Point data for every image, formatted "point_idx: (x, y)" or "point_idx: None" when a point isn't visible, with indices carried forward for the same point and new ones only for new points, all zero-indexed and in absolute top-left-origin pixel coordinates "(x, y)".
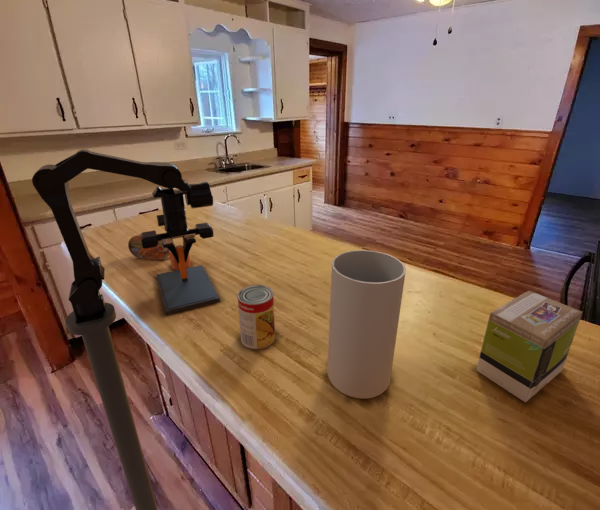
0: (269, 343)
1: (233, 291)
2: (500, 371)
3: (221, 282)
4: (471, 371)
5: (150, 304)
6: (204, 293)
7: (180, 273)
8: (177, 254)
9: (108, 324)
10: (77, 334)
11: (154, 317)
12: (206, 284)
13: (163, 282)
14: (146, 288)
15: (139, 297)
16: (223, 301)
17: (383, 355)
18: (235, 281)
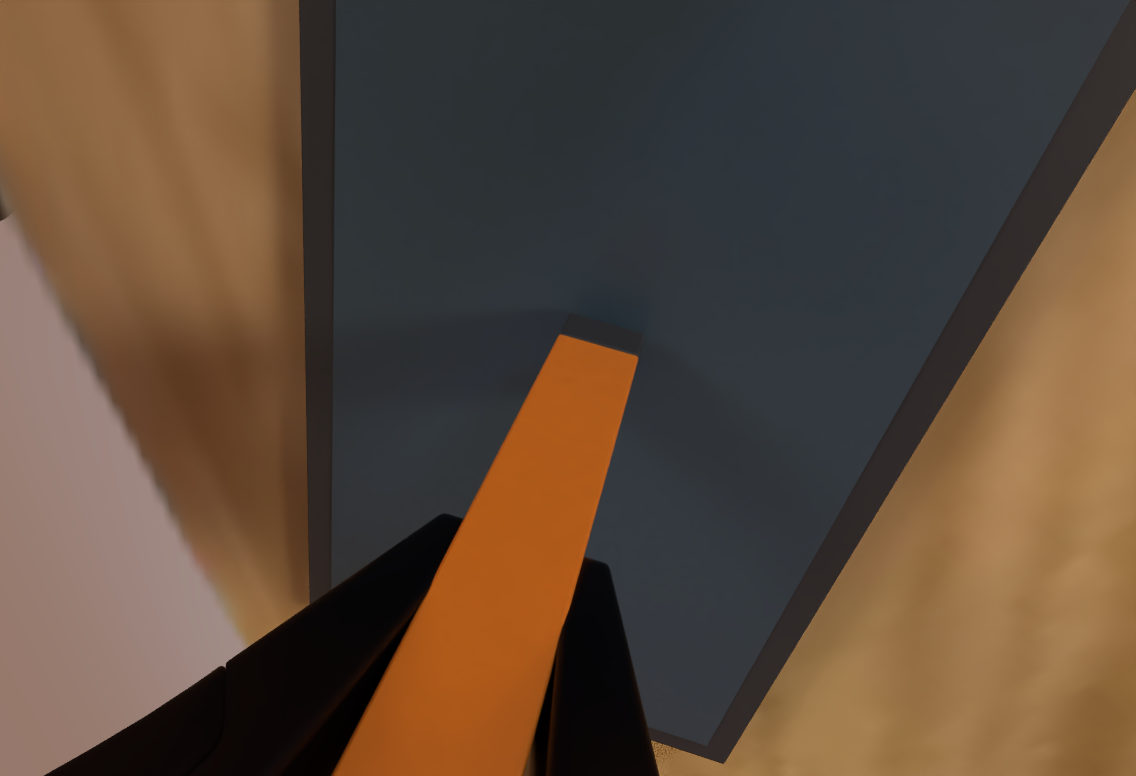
0: None
1: (923, 715)
2: None
3: (980, 540)
4: None
5: (228, 406)
6: (657, 659)
7: (542, 369)
8: (397, 647)
9: (4, 214)
10: None
11: (253, 566)
12: (771, 565)
13: (357, 174)
14: (182, 51)
15: (124, 216)
16: (748, 741)
17: None
18: (1112, 624)
